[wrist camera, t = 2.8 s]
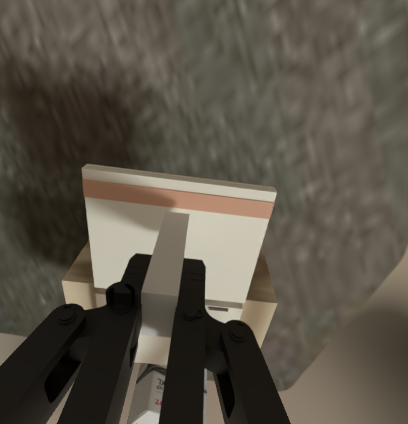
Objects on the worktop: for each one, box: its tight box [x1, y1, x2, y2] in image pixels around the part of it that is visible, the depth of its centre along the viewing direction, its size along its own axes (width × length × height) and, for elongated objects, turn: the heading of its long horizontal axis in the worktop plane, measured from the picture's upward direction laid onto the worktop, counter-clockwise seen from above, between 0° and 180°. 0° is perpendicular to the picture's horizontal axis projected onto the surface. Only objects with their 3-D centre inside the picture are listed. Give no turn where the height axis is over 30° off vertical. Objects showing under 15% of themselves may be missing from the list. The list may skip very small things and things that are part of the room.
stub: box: [82, 164, 277, 303], centre depth 19 cm, size 12×10×1 cm
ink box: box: [127, 363, 207, 424], centre depth 37 cm, size 8×5×12 cm, turn 54°
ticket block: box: [62, 240, 277, 365], centre depth 29 cm, size 18×10×11 cm, turn 83°
